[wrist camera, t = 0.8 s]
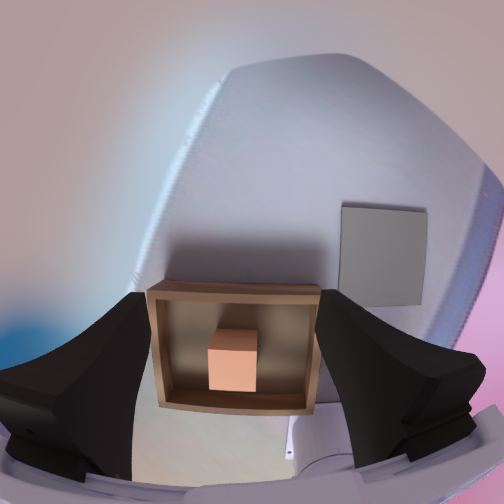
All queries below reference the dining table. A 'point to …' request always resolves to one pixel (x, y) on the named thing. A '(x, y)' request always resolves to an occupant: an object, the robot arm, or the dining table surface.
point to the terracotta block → (233, 360)
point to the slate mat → (382, 256)
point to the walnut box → (235, 317)
